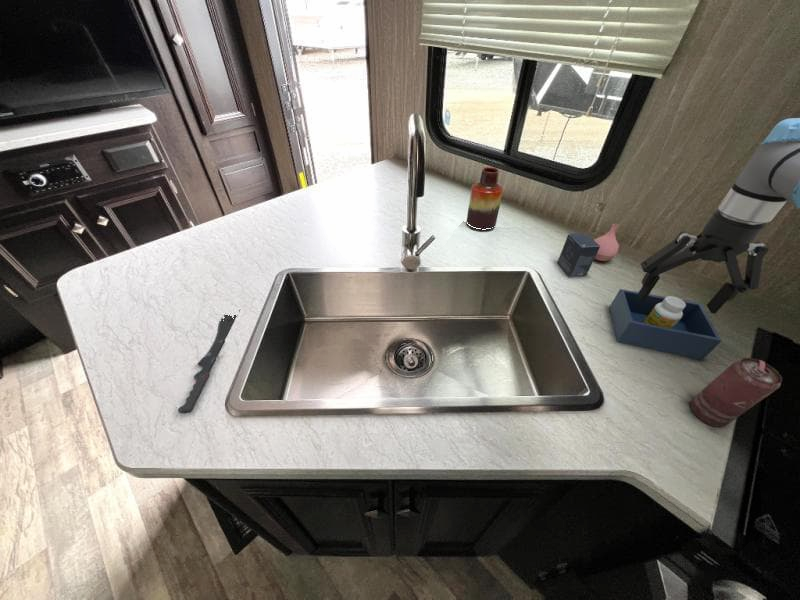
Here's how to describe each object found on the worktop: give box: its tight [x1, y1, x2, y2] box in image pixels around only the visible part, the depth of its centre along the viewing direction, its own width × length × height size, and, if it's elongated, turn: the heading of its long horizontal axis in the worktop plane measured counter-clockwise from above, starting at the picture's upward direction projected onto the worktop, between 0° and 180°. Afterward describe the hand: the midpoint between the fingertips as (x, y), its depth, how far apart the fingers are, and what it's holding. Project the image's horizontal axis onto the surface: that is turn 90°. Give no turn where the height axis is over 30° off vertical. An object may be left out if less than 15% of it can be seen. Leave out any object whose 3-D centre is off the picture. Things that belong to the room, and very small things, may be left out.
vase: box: [465, 166, 504, 233], centre depth 113 cm, size 11×11×20 cm
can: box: [690, 357, 783, 427], centre depth 58 cm, size 6×6×14 cm
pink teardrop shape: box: [593, 223, 620, 262], centre depth 99 cm, size 8×8×12 cm
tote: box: [608, 288, 723, 361], centre depth 76 cm, size 18×13×7 cm
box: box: [557, 232, 600, 278], centre depth 95 cm, size 8×6×11 cm
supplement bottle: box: [643, 295, 686, 329], centre depth 75 cm, size 5×5×10 cm
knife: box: [177, 309, 241, 413], centre depth 74 cm, size 32×4×1 cm, turn 2°
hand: (675, 303), depth 72 cm, fingers open, 13 cm apart
